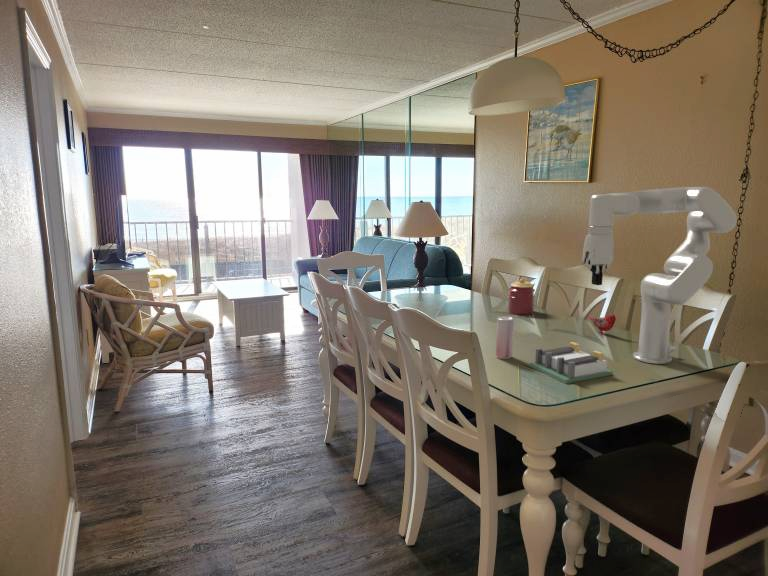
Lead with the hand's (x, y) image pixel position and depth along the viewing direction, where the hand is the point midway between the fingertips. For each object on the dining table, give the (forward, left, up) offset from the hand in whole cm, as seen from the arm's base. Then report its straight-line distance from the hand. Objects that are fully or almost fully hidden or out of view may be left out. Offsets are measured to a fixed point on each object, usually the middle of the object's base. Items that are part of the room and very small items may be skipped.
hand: (596, 284), depth 178 cm
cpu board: (+11, +2, -29) cm, 31 cm away
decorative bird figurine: (-34, -30, -29) cm, 54 cm away
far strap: (+12, -4, -24) cm, 27 cm away
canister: (-28, -77, -29) cm, 87 cm away
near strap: (+12, +7, -24) cm, 28 cm away
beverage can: (+23, -20, -29) cm, 42 cm away
